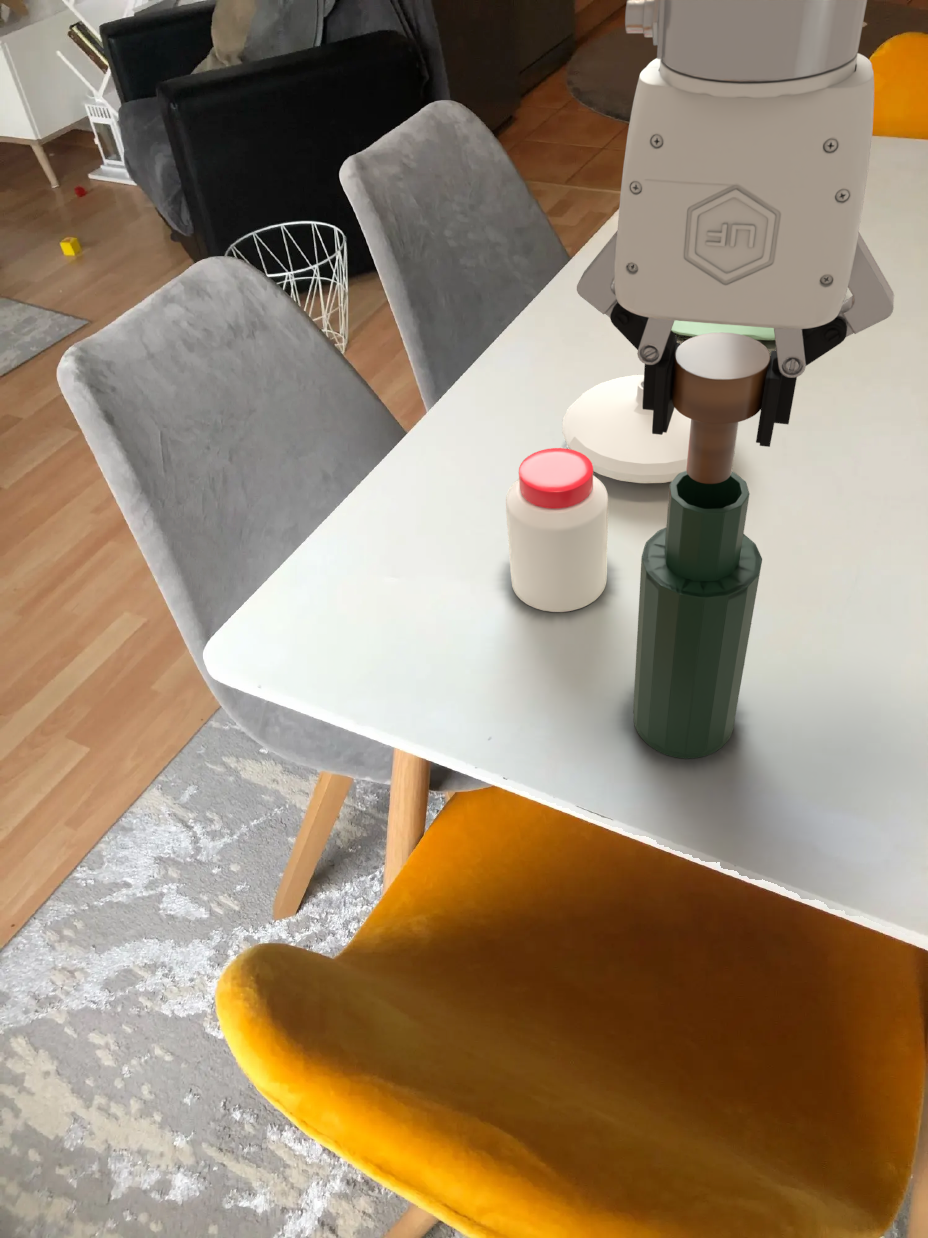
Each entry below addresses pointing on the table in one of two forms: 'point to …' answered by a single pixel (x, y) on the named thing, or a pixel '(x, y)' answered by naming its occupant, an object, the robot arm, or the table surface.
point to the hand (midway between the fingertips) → (714, 422)
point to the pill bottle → (557, 531)
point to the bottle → (695, 618)
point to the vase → (626, 434)
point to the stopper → (717, 397)
